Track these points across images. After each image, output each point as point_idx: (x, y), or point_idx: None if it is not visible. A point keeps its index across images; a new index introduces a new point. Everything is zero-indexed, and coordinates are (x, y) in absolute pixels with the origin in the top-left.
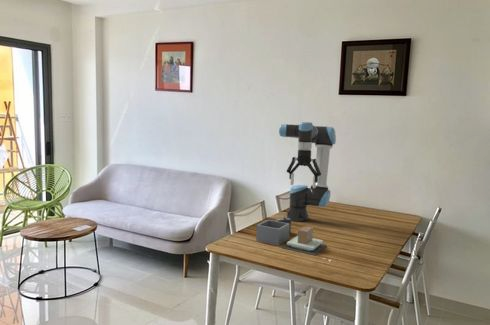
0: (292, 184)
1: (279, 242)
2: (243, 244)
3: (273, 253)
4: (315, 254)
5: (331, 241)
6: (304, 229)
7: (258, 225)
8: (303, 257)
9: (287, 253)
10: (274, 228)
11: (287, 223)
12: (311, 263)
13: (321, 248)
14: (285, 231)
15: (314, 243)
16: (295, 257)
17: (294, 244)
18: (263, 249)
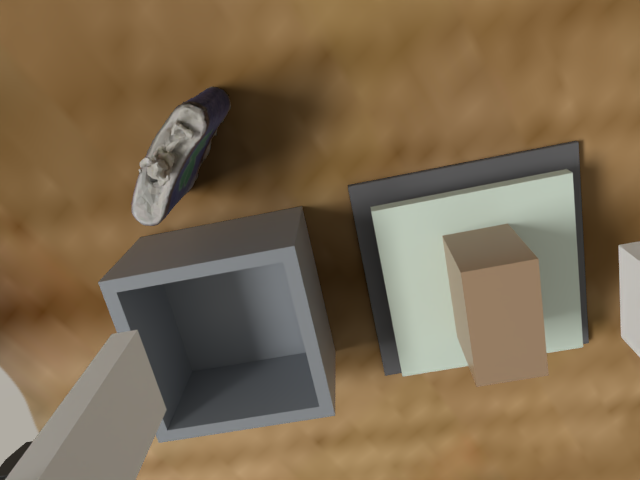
0: (151, 383)
1: (332, 349)
2: (190, 461)
3: (393, 456)
4: (586, 328)
5: (570, 20)
6: (505, 343)
7: (172, 439)
8: (548, 401)
9: (449, 411)
10: (296, 419)
11: (279, 255)
12: (619, 436)
13: (581, 230)
14: (313, 295)
15: (552, 273)
16: (513, 427)
17: (455, 366)
18: (317, 448)
